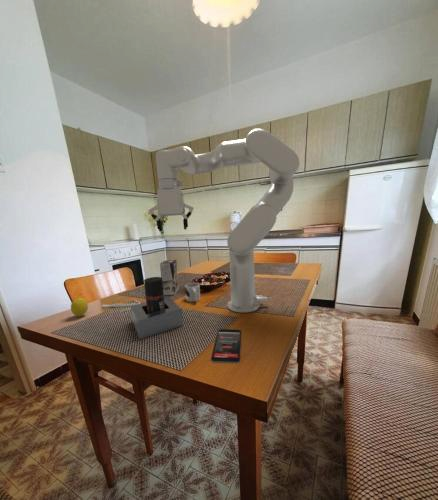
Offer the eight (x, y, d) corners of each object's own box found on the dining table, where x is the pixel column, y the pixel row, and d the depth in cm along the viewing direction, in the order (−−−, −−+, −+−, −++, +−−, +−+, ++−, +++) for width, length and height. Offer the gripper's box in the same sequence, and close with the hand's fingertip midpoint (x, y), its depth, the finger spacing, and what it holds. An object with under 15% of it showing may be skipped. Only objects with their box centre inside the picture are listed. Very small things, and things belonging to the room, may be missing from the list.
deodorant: (161, 325, 68) (156, 281, 66) (145, 324, 69) (140, 281, 67) (168, 317, 74) (165, 276, 72) (153, 316, 75) (149, 276, 73)
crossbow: (144, 302, 96) (144, 298, 95) (134, 314, 83) (134, 309, 83) (109, 302, 95) (109, 298, 94) (94, 314, 82) (94, 309, 82)
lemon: (69, 318, 79) (66, 299, 78) (82, 312, 84) (80, 294, 83) (78, 320, 77) (75, 300, 76) (92, 314, 82) (89, 295, 81)
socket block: (170, 311, 81) (168, 296, 80) (183, 325, 69) (181, 308, 68) (132, 321, 74) (130, 306, 73) (139, 339, 62) (137, 320, 61)
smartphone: (210, 360, 50) (218, 329, 65) (210, 363, 50) (218, 331, 65) (240, 362, 49) (241, 329, 64) (240, 364, 49) (241, 331, 64)
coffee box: (175, 295, 99) (172, 262, 97) (162, 295, 100) (159, 263, 97) (179, 289, 108) (176, 259, 106) (167, 289, 109) (164, 260, 106)
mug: (184, 297, 95) (183, 284, 94) (198, 295, 97) (197, 282, 96) (188, 305, 86) (187, 290, 85) (203, 303, 88) (202, 288, 87)
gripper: (192, 186, 82) (195, 228, 84) (149, 188, 81) (153, 231, 84) (190, 182, 75) (194, 229, 77) (143, 185, 74) (148, 232, 76)
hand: (173, 230), depth 80 cm, fingers open, 9 cm apart
